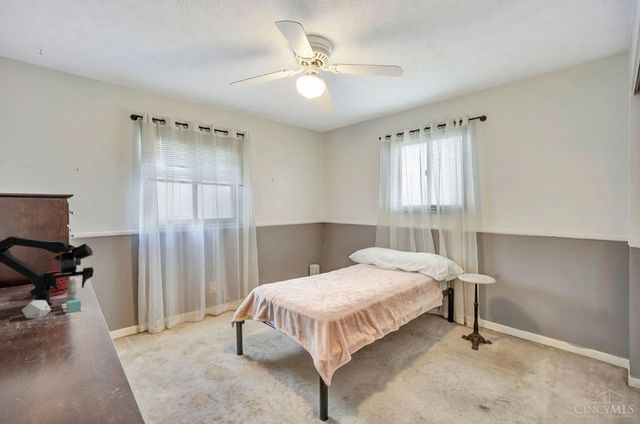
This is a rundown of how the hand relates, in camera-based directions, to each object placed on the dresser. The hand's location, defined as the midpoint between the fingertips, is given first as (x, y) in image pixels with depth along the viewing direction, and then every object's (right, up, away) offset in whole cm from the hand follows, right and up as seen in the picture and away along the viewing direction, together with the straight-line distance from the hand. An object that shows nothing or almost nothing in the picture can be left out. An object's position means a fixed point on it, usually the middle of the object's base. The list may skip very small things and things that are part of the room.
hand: (70, 289), depth 138 cm
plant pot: (-30, -9, +24) cm, 40 cm away
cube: (+6, -8, -5) cm, 12 cm away
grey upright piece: (+2, -9, -1) cm, 10 cm away
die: (-5, -10, -12) cm, 16 cm away
